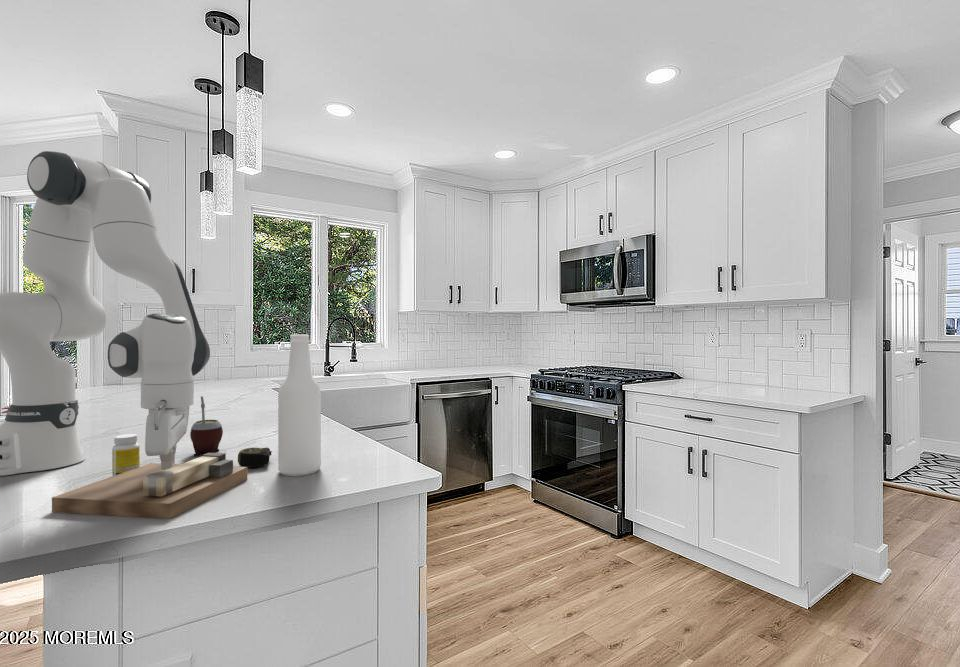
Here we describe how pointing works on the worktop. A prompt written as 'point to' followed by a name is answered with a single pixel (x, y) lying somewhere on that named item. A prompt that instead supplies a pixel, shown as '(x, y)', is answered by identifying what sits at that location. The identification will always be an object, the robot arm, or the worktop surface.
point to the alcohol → (299, 414)
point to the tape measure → (254, 457)
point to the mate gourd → (206, 434)
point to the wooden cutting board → (128, 499)
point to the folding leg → (180, 475)
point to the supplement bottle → (125, 453)
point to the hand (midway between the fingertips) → (167, 467)
